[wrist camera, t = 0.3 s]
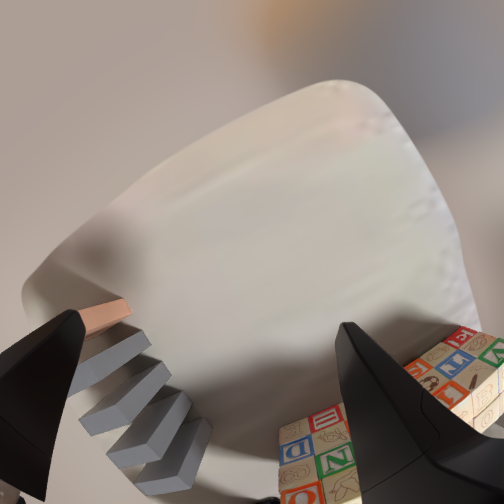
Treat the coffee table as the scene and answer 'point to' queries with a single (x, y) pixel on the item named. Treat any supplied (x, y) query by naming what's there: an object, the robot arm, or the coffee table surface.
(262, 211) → the coffee table surface
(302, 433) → the stack of blocks
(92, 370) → the domino
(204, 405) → the coffee table surface
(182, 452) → the domino
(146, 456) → the domino
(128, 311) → the domino
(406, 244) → the coffee table surface
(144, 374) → the domino
